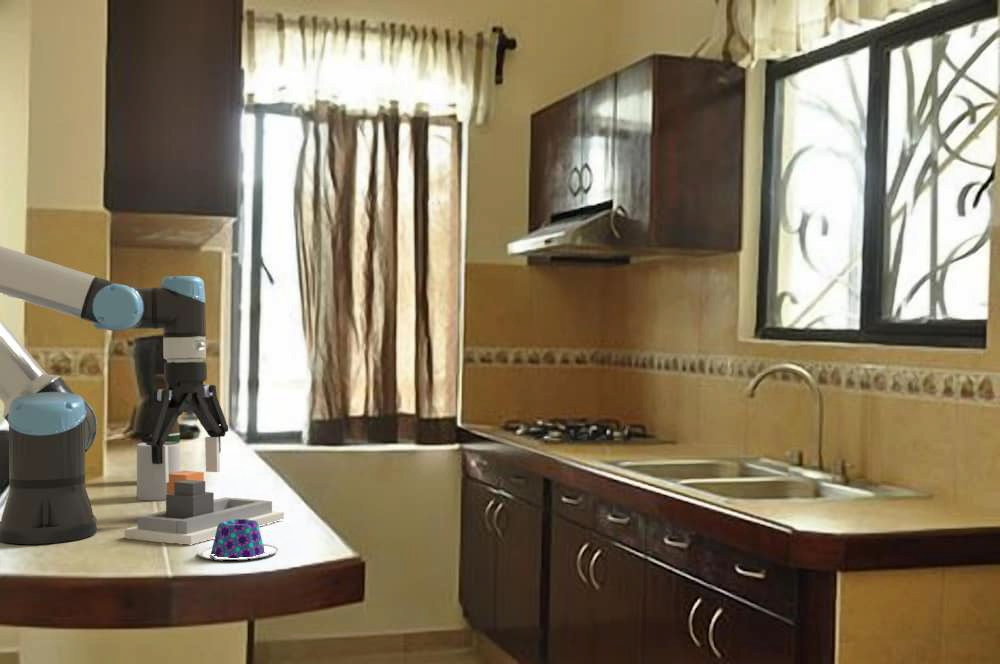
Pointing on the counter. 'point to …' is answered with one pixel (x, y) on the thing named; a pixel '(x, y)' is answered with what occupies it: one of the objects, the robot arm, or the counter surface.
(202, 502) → the handle
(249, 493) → the counter surface
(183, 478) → the block
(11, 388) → the robot arm
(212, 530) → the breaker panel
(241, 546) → the pudding
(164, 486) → the mug
